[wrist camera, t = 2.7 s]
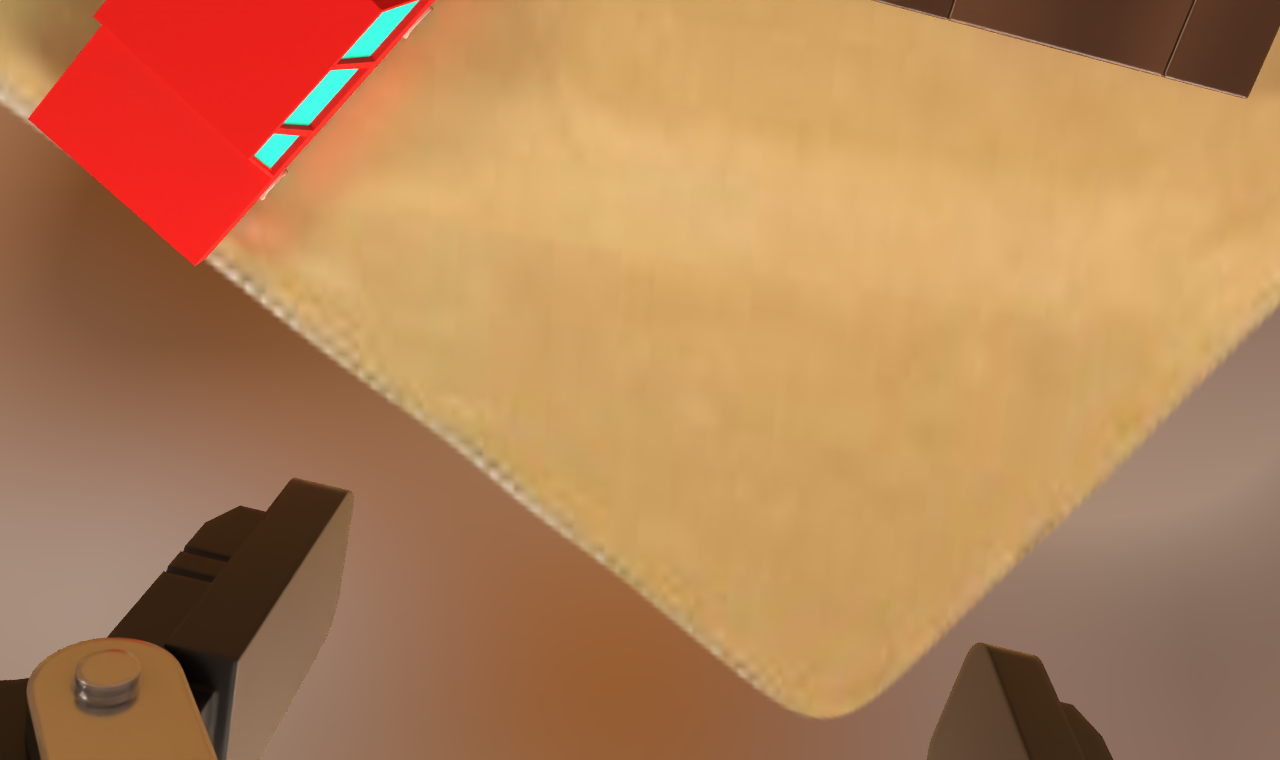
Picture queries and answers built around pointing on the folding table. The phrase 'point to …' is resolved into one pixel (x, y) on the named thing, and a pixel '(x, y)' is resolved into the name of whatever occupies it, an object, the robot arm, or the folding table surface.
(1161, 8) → the peg board
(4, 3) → the folding table surface
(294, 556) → the robot arm
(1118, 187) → the folding table surface
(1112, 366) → the folding table surface
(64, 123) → the toy car
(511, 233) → the folding table surface
